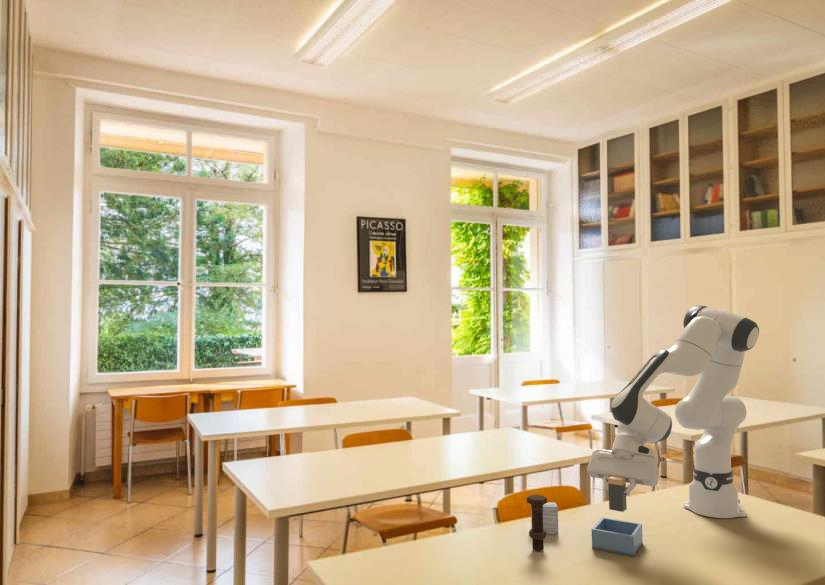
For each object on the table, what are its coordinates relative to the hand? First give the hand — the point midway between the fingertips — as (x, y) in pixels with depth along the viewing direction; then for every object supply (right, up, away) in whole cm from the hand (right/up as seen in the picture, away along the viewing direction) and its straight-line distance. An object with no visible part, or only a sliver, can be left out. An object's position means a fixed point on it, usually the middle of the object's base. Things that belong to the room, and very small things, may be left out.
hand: (616, 492), depth 172 cm
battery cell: (0, -5, 0) cm, 5 cm away
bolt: (-23, -16, -1) cm, 28 cm away
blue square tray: (0, -16, 0) cm, 16 cm away
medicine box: (-18, -17, +12) cm, 27 cm away
